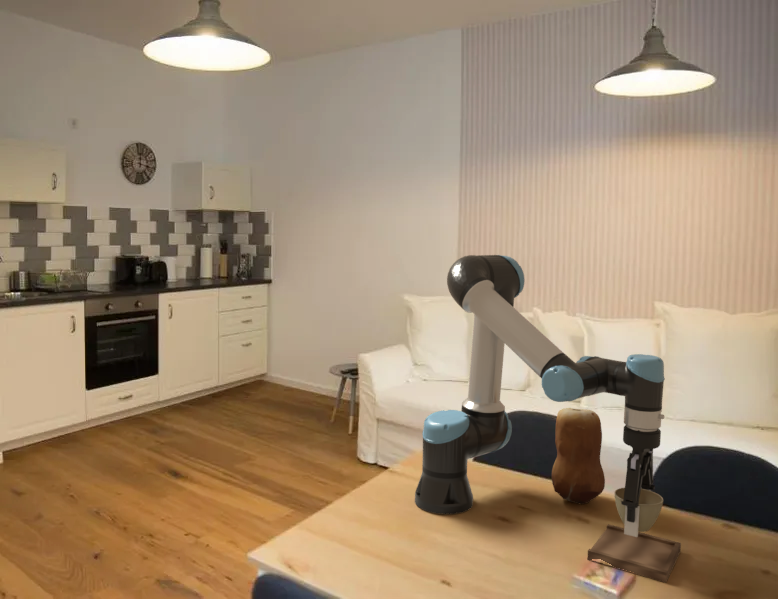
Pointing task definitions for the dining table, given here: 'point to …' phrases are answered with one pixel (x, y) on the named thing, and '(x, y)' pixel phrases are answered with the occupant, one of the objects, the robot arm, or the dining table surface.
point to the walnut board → (636, 553)
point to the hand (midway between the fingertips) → (636, 526)
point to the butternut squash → (578, 456)
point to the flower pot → (642, 507)
